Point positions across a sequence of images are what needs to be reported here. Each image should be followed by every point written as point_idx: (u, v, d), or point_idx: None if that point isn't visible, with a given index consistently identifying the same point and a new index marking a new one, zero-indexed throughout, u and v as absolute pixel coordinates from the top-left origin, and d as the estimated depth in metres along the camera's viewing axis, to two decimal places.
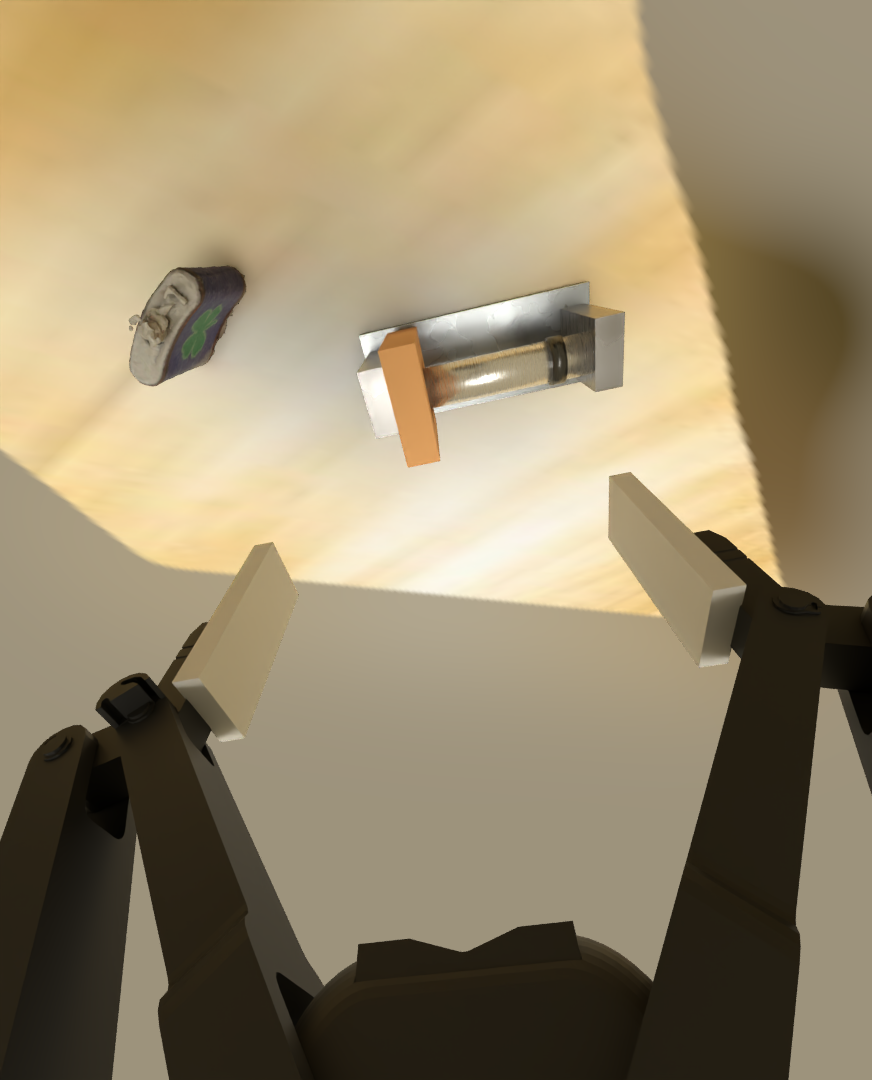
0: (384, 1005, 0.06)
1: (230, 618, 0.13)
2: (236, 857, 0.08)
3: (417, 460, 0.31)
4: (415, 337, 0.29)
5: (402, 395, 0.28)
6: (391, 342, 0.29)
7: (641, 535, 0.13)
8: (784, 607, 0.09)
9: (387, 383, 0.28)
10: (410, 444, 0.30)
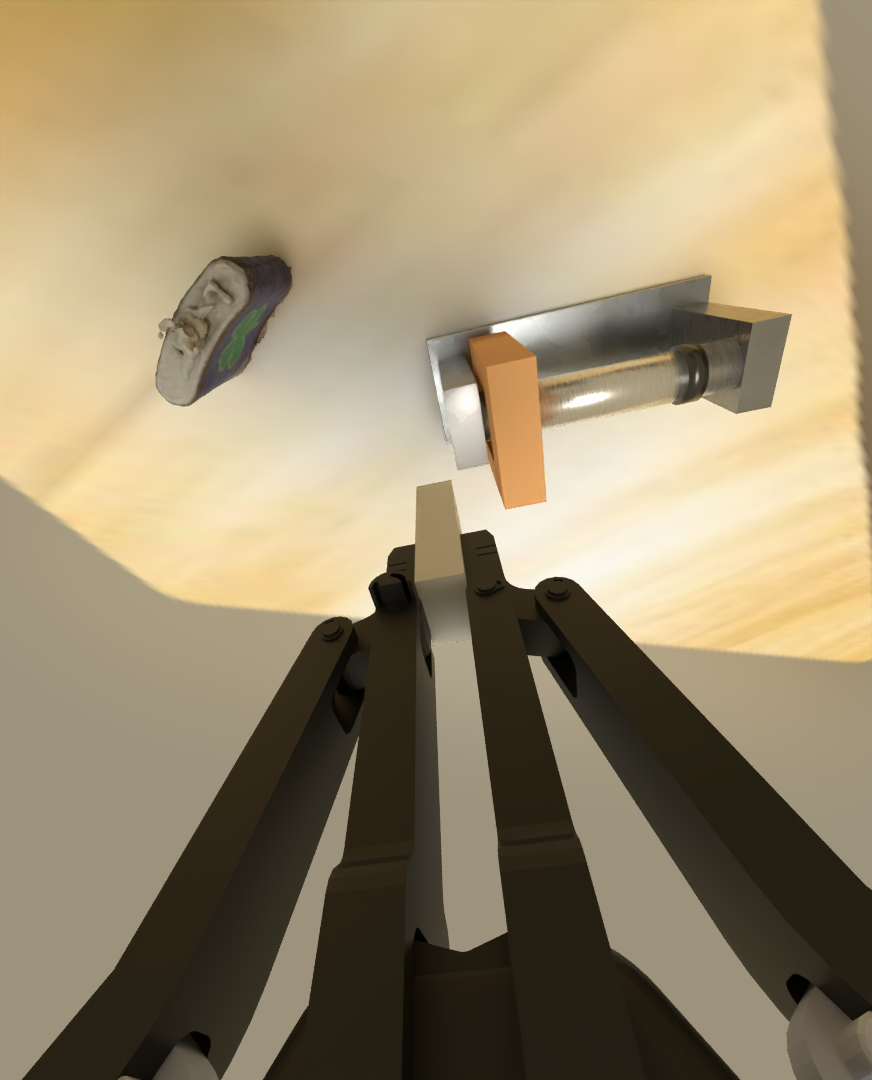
0: None
1: (436, 537, 0.14)
2: (420, 784, 0.08)
3: (518, 501, 0.25)
4: (524, 347, 0.23)
5: (510, 422, 0.22)
6: (492, 353, 0.23)
7: None
8: (483, 592, 0.12)
9: (493, 407, 0.22)
10: (512, 482, 0.24)
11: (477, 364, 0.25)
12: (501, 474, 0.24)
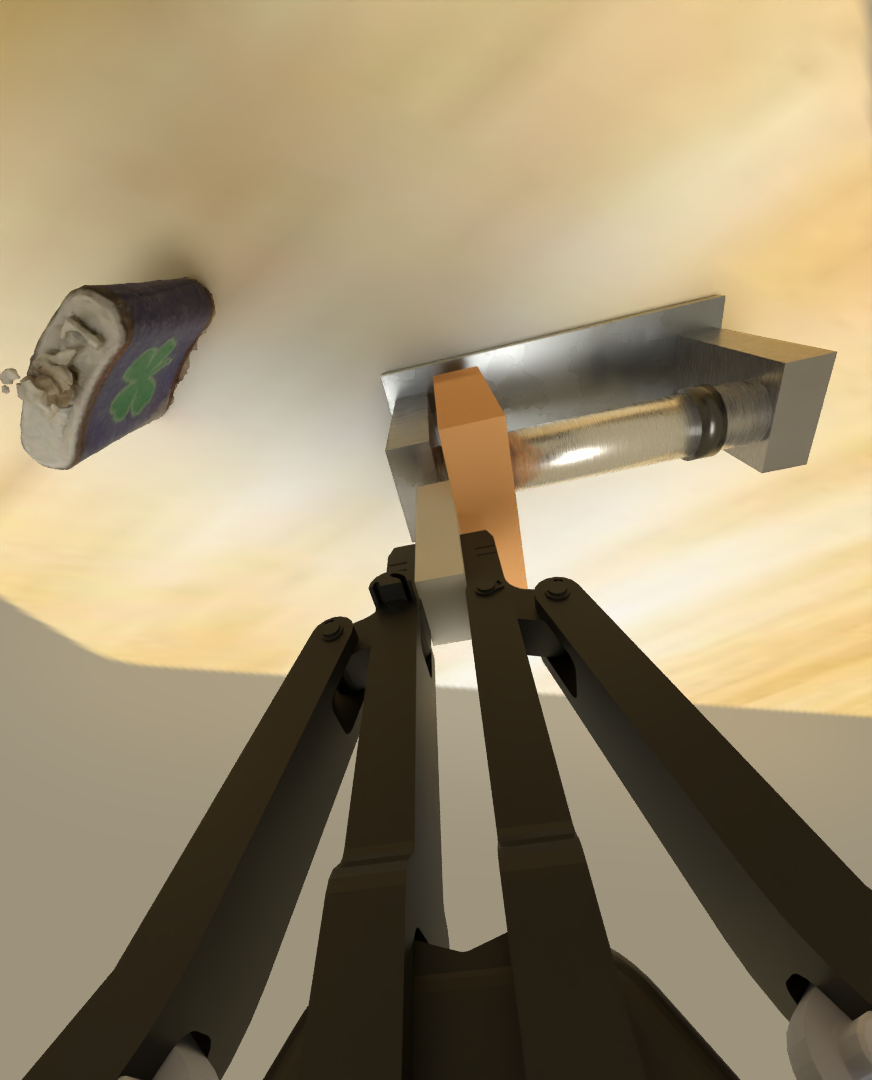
0: None
1: (436, 537, 0.14)
2: (421, 784, 0.08)
3: None
4: (494, 396, 0.17)
5: (475, 498, 0.17)
6: (453, 404, 0.17)
7: None
8: (483, 592, 0.12)
9: (451, 479, 0.16)
10: None
11: None
12: None
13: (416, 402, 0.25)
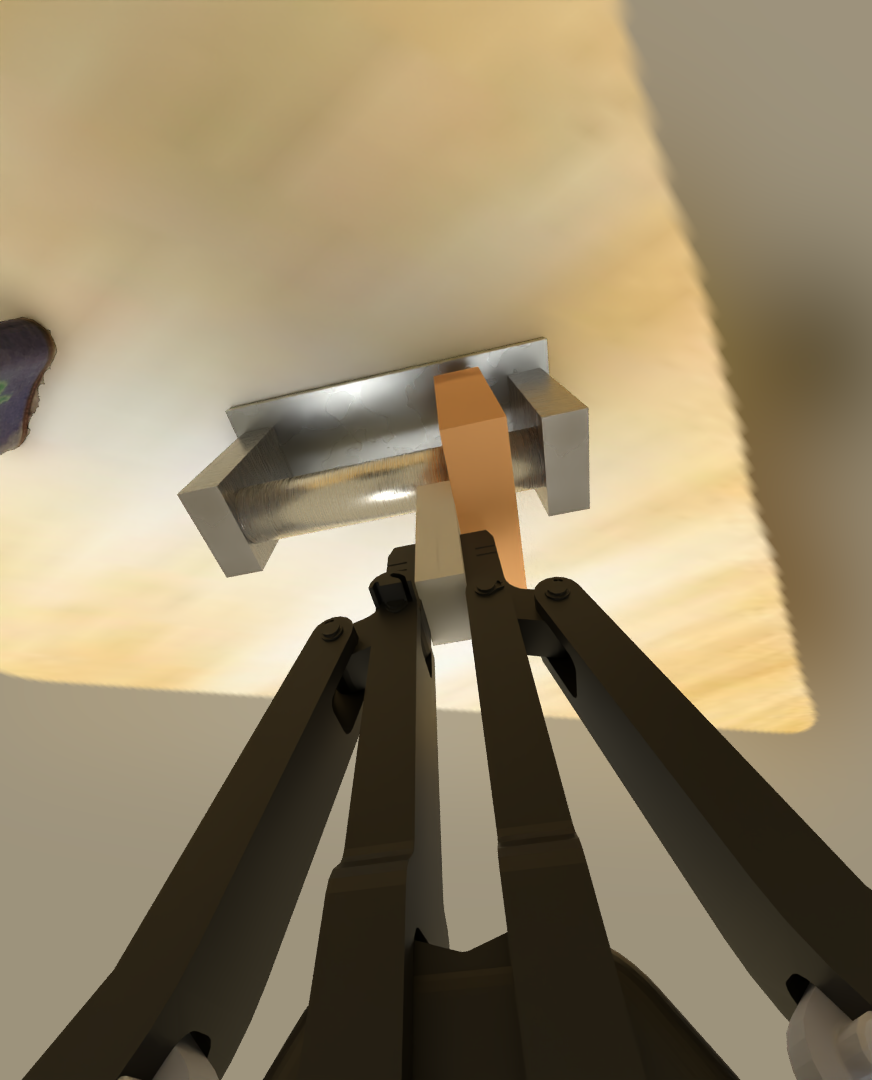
0: None
1: (436, 537, 0.14)
2: (421, 784, 0.08)
3: None
4: (495, 397, 0.17)
5: (475, 498, 0.17)
6: (454, 404, 0.17)
7: None
8: (483, 592, 0.12)
9: (451, 480, 0.16)
10: None
11: None
12: None
13: (254, 438, 0.26)
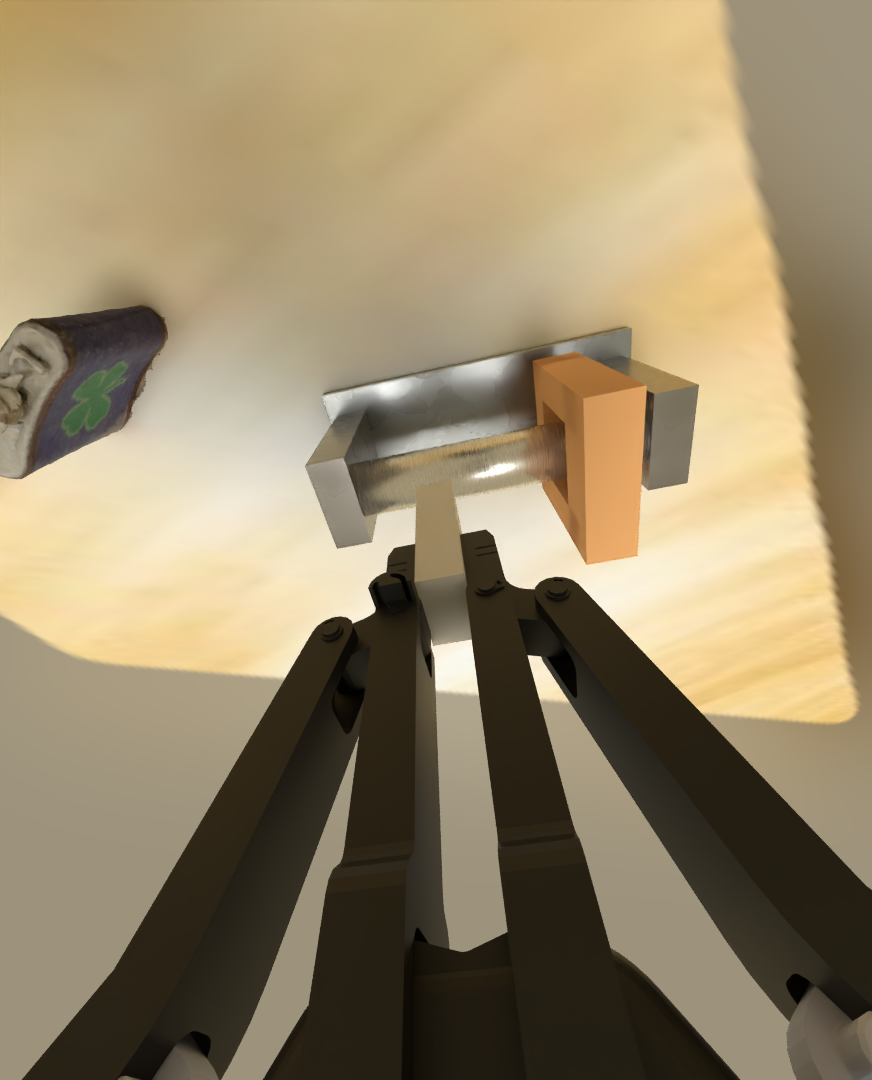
0: None
1: (436, 537, 0.14)
2: (420, 784, 0.08)
3: (603, 555, 0.20)
4: (618, 372, 0.19)
5: (605, 465, 0.18)
6: (579, 380, 0.19)
7: None
8: (483, 592, 0.12)
9: (586, 446, 0.17)
10: (599, 533, 0.20)
11: (552, 391, 0.21)
12: (587, 524, 0.19)
13: (351, 420, 0.27)
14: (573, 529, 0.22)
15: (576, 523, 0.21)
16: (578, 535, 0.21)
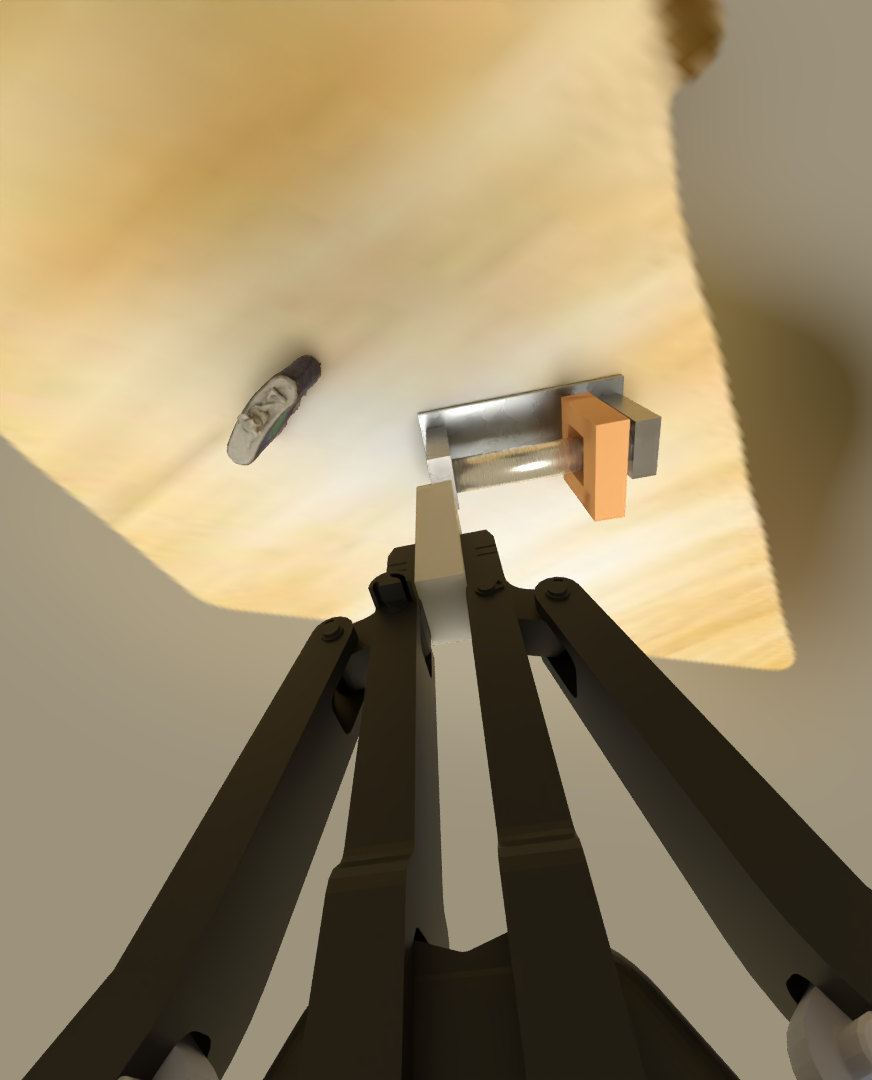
0: None
1: (436, 537, 0.14)
2: (421, 784, 0.08)
3: (605, 515, 0.34)
4: None
5: (607, 461, 0.32)
6: (592, 413, 0.33)
7: None
8: (483, 592, 0.12)
9: (597, 451, 0.32)
10: (602, 502, 0.34)
11: (575, 418, 0.35)
12: (595, 496, 0.34)
13: (439, 432, 0.41)
14: (586, 501, 0.36)
15: (588, 497, 0.35)
16: (590, 504, 0.35)
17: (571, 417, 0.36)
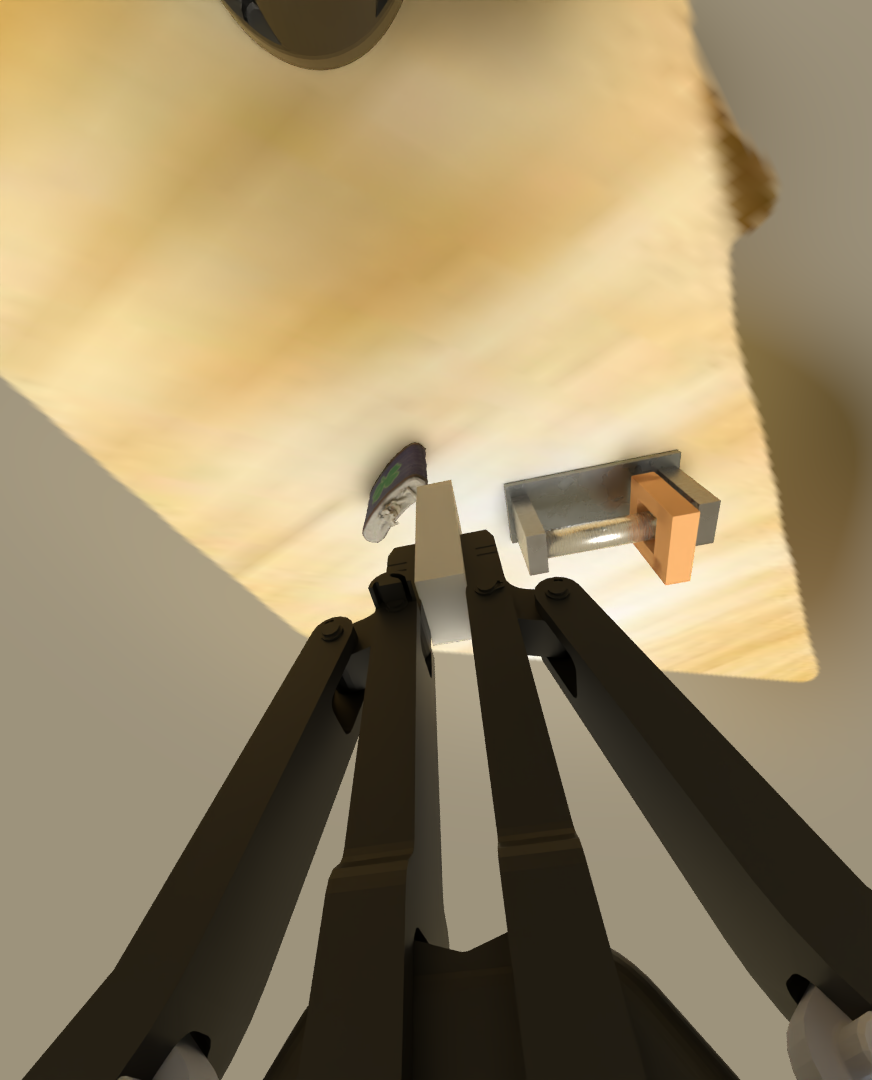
0: None
1: (436, 537, 0.14)
2: (421, 784, 0.08)
3: (674, 580, 0.42)
4: (684, 498, 0.40)
5: (679, 542, 0.40)
6: (666, 501, 0.41)
7: None
8: (483, 592, 0.12)
9: (671, 535, 0.39)
10: (673, 571, 0.42)
11: (647, 500, 0.43)
12: (667, 567, 0.41)
13: (525, 502, 0.49)
14: (656, 566, 0.44)
15: (659, 564, 0.43)
16: (660, 570, 0.43)
17: (643, 497, 0.44)
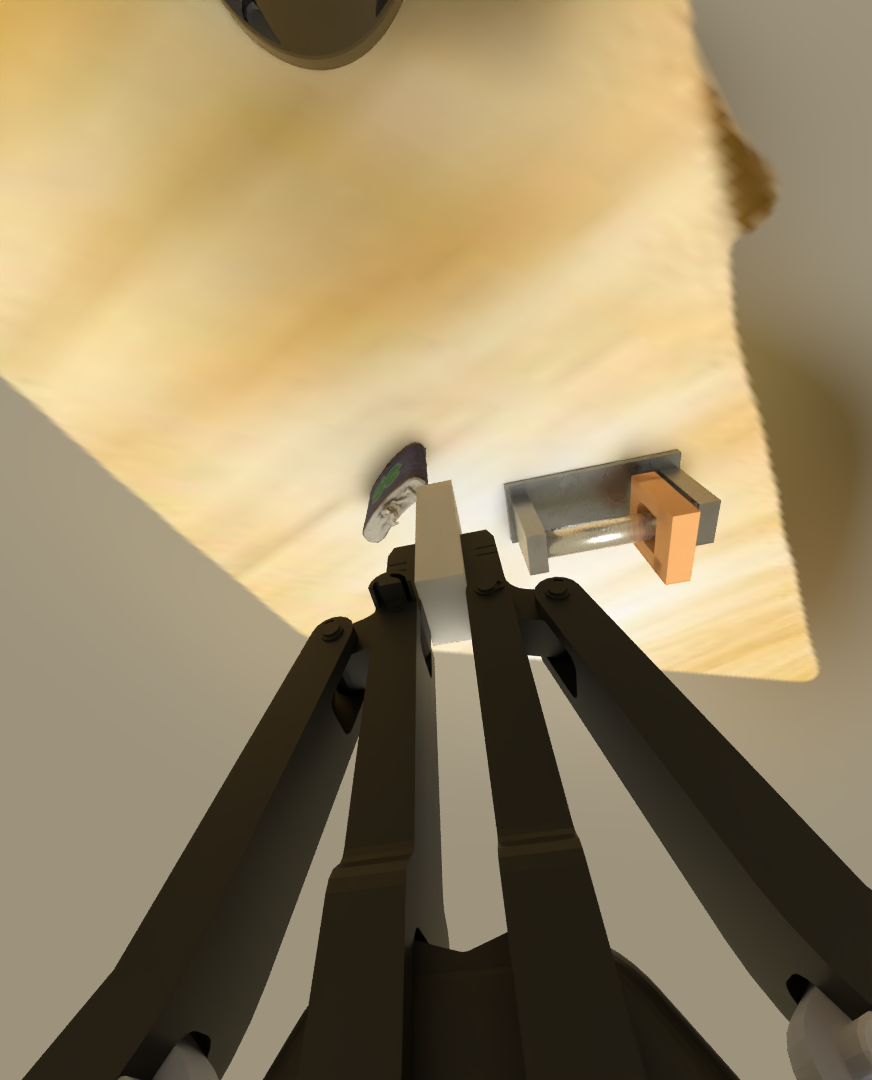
0: None
1: (436, 537, 0.14)
2: (421, 784, 0.08)
3: (674, 580, 0.42)
4: (684, 498, 0.40)
5: (679, 542, 0.40)
6: (666, 500, 0.41)
7: None
8: (483, 592, 0.12)
9: (672, 534, 0.39)
10: (673, 570, 0.42)
11: (648, 499, 0.43)
12: (668, 567, 0.41)
13: (525, 502, 0.49)
14: (656, 566, 0.44)
15: (659, 564, 0.43)
16: (660, 570, 0.43)
17: (643, 496, 0.44)
